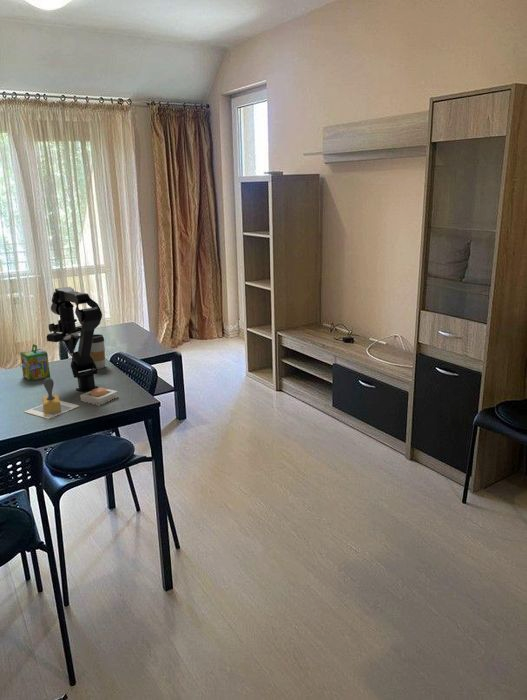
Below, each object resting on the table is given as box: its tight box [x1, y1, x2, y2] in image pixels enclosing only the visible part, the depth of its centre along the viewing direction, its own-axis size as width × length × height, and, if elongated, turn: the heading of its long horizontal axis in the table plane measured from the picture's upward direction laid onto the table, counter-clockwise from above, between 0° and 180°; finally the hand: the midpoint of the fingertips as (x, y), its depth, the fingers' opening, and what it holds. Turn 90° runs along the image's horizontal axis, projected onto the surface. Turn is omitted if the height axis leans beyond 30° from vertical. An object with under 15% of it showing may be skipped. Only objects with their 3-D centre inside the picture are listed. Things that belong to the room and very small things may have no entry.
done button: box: [91, 387, 108, 397], centre depth 211 cm, size 6×6×2 cm
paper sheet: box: [23, 400, 80, 420], centre depth 202 cm, size 14×14×1 cm
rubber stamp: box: [42, 377, 61, 414], centre depth 201 cm, size 10×6×12 cm, turn 22°
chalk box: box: [19, 343, 51, 382], centre depth 239 cm, size 9×9×15 cm
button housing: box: [79, 388, 119, 406], centre depth 211 cm, size 10×10×2 cm
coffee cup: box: [90, 333, 106, 370], centre depth 251 cm, size 8×8×15 cm
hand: (71, 353), depth 229 cm, fingers closed
